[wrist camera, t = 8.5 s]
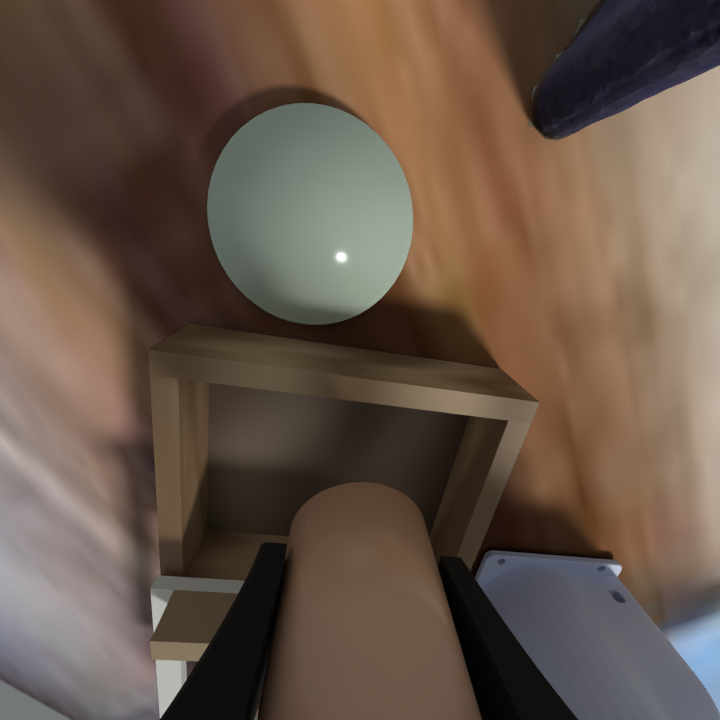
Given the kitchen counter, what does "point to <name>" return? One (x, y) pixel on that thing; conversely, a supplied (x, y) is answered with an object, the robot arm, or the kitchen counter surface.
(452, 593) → the robot arm
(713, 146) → the kitchen counter surface
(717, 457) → the kitchen counter surface
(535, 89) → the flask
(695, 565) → the kitchen counter surface
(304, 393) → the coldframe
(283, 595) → the brown cylinder
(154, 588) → the frame
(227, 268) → the saucer
